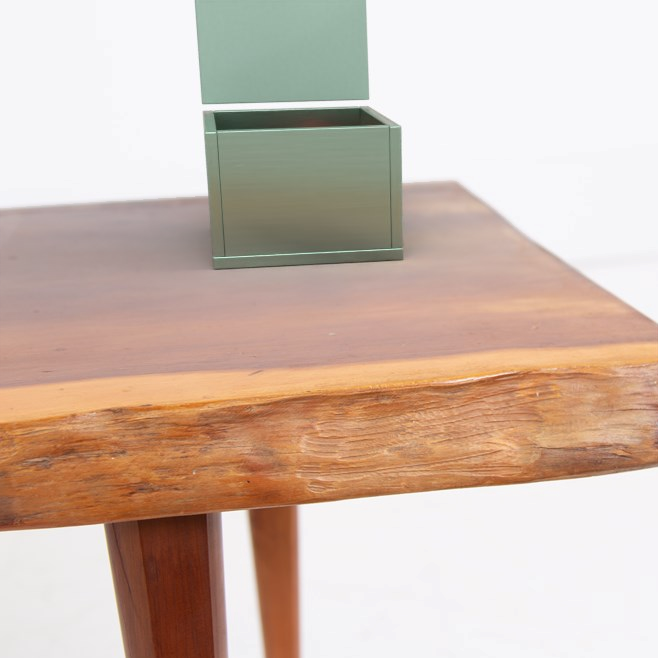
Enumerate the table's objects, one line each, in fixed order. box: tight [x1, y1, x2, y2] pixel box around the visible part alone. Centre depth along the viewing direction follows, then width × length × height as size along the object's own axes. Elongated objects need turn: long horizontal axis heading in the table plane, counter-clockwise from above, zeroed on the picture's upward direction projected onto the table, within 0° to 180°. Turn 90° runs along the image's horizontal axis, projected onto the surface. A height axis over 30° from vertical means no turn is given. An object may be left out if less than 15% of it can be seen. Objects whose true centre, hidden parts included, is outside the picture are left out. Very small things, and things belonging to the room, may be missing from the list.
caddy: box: [202, 105, 404, 270], centre depth 80 cm, size 15×13×9 cm
